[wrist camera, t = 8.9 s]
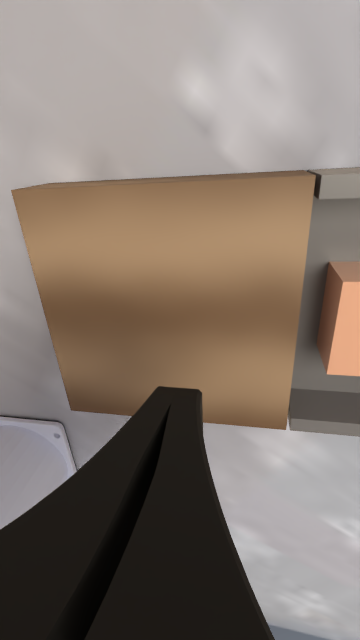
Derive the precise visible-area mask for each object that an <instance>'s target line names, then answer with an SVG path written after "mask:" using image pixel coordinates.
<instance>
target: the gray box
mask: <svg viewBox="0 0 360 640" xmlns="http://www.w3.org/2000/svg"><path fill="white" fill-rule="evenodd" d="M308 172H309V173H311V174H314V175H316V178H315V186H314V195H313V204H312V212H311V221H310V229H309V238H308V246H307V255H306V263H305V272H304V280H303V289H302V297H301V306H300V315H299V323H298V332H297V340H296V349H295V357H294V366H293V374H292V383H291V391H290V400H289V408H288V419H289V426H290V430H293V431H304V432H315V433H326V434H337V435H348V436H359V437H360V376H346V375H330V374H326V371H325V368H324V365H323V362H322V359H321V356H320V353H319V350H318V347H317V337H318V331H319V324H320V318H321V311H322V305H323V298H324V291H325V285H326V278H327V272H328V265H329V262H360V167H355V168H336V169H317V170H308Z"/></svg>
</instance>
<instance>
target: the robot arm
mask: <svg viewBox="0 0 360 640" xmlns="http://www.w3.org/2000/svg"><path fill="white" fill-rule="evenodd" d="M0 640H275V639H274V637H273V635H272V633H271V631H270V628H269V626H268V624H267V622H266V620H265V618H264V615H263V613H262V611H261V608H260V606H259V604H258V602H257V599H256V597H255V595H254V592H253V590H252V588H251V585H250V583H249V581H248V578H247V576H246V573H245V571H244V568H243V565H242V563H241V560H240V558H239V555H238V553H237V550H236V548H235V545H234V543H233V540H232V538H231V535H230V532H229V529H228V526H227V523H226V521H225V518H224V515H223V512H222V509H221V506H220V502H219V499H218V496H217V493H216V489H215V486H214V482H213V479H212V475H211V471H210V467H209V463H208V459H207V454H206V450H205V444H204V438H203V409H202V392H201V391H200V390H199V389H190V388H177V387H164V386H158V387H157V388H156V389H155V390H154V391H153V393H152V394H151V395H150V396H149V397H148V399H147V400H146V401H145V402H144V403H143V405H142V406H141V407H140V408H139V409H138V410H137V412H136V413H135V414H134V415H133V416H132V417H131V418H130V419H129V420H128V422H127V423H126V424H125V425H124V426H123V427H122V428H121V429H120V430H119V431H118V432H117V433H116V435H115V436H114V437H113V438H112V439H111V440H110V441H109V442H108V443H107V444H106V445H104V446H103V447H102V448H101V449H100V450H99V451H98V452H97V453H96V454H95V455H94V456H93V457H92V458H91V459H90V460H89V461H88V462H87V463H86V464H85V465H83V466H82V467H81V468H80V469H79V470H78V471H77V470H76V467H75V464H74V460H73V457H72V454H71V450H70V447H69V443H68V440H67V437H66V433H65V430H64V427H63V425H62V424H60V423H58V422H50V421H40V420H30V419H20V418H10V417H0Z"/></svg>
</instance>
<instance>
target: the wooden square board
mask: <svg viewBox="0 0 360 640" xmlns="http://www.w3.org/2000/svg"><path fill="white" fill-rule="evenodd" d="M315 178H316V175H314V174H311V173H309V172H307V171H304V170H297V171H278V172H259V173H239V174H220V175H201V176H182V177H162V178H143V179H124V180H104V181H85V182H66V183H48V184H43V185H37V186H32V187H26V188H21V189H15V190H11V192H12V195H13V199H14V203H15V206H16V210H17V214H18V217H19V221H20V225H21V228H22V232H23V236H24V239H25V243H26V247H27V250H28V254H29V258H30V261H31V265H32V269H33V272H34V276H35V280H36V283H37V287H38V291H39V294H40V298H41V302H42V305H43V309H44V313H45V316H46V320H47V324H48V327H49V331H50V335H51V338H52V342H53V346H54V349H55V353H56V357H57V360H58V364H59V368H60V371H61V375H62V379H63V382H64V386H65V390H66V394H67V397H68V401H69V405H70V408H71V410H73V411H84V412H95V413H106V414H117V415H128V416H133V415H134V414H135V413H136V412H137V410H138V409H139V408H140V407H141V406H142V405H143V403H144V402H145V401H146V400H147V399H148V397H149V396H150V395H151V394H152V393H153V391H154V390H155V389H156V388H157V387H158V386H164V387H177V388H190V389H199V390H200V391H201V392H202V409H203V422H205V423H216V424H227V425H238V426H249V427H260V428H271V429H282V430H286V425H287V417H288V408H289V400H290V391H291V383H292V374H293V366H294V357H295V349H296V340H297V332H298V323H299V315H300V306H301V297H302V289H303V280H304V272H305V263H306V255H307V246H308V238H309V229H310V221H311V212H312V204H313V195H314V186H315Z"/></svg>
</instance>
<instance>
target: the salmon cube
mask: <svg viewBox="0 0 360 640" xmlns="http://www.w3.org/2000/svg"><path fill="white" fill-rule="evenodd" d="M317 347H318V350H319V353H320V356H321V359H322V362H323V365H324V368H325V371H326V374H330V375H346V376H360V262H329V265H328V272H327V278H326V285H325V291H324V298H323V305H322V311H321V318H320V324H319V331H318V337H317Z"/></svg>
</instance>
